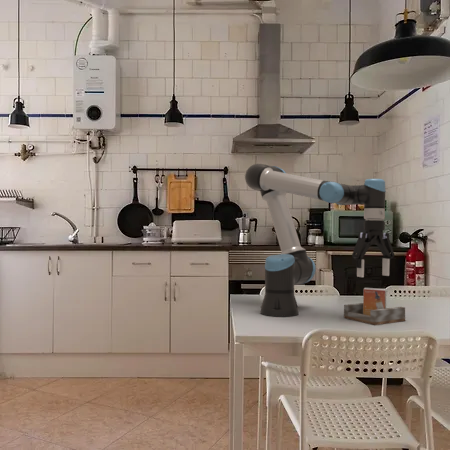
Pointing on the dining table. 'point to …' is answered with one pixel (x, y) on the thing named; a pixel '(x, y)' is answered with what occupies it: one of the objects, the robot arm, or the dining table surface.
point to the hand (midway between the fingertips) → (373, 276)
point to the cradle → (374, 314)
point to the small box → (373, 300)
